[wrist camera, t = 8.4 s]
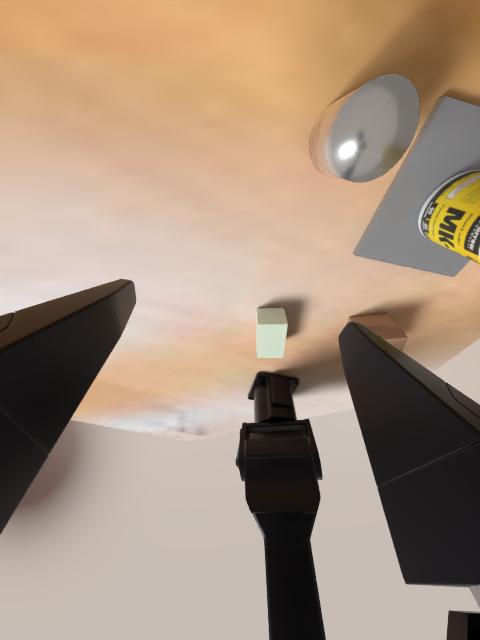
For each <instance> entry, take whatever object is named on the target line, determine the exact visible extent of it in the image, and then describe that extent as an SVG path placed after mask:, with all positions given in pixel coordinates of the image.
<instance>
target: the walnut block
mask: <svg viewBox="0 0 480 640" xmlns="http://www.w3.org/2000/svg"><path fill="white" fill-rule="evenodd" d="M351 321H352V322H358V323H361V324H362V325H364V326H365V327H366V328H368V329H369V330H371V331H372V332H374V333H375V334H377V335H378V336H380V337H381V338H382V339H384V340H385V341H387V342H388V343H390V344H391V345H393V346H394V347H396V348H397V349H398V350H400V351H402V349H403V347H404V345H405V343H406V341H407V338H408V337H407V336H406V335H405V334H404V332H403V331H402V330H401V329H400V328H399V327H398V325H397V324H396V323H395V322H394V321H393V320H392V319H391V317H390V316H389V315H388V314H387V313H384V314H373V315H363V316H353V317H349V319H348V322H351Z"/></svg>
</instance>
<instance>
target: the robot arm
mask: <svg viewBox="0 0 480 640" xmlns="http://www.w3.org/2000/svg"><path fill="white" fill-rule="evenodd" d="M135 304H136V294H135V286H134V283H133V281H131V280H126V279H119V280H116V281H113V282H109V283H106V284H103V285H100V286H96V287H93V288H90V289H87V290H83V291H80V292H77V293H74V294H70V295H67V296H64V297H61V298H57V299H54V300H51V301H47V302H44V303H41V304H38V305H34V306H31V307H28V308H25V309H21V310H18V311H15V313H13V312H11V313H8V314H5V315H2V316H0V534H1V533H2V531H3V529H4V528H5V526H6V524H7V523H8V521H9V520H10V518H11V516H12V515H13V513H14V511H15V510H16V508H17V506H18V505H19V503H20V501H21V500H22V498H23V496H24V495H25V493H26V491H27V490H28V488H29V486H30V485H31V483H32V482H33V480H34V479H35V477H36V475H37V473H38V472H39V470H40V469H41V467H42V465H43V464H44V462H45V460H46V459H47V457H48V454H49V453H50V452H51V450H52V449H53V447H54V445H55V443H56V442H57V440H58V439H59V437H60V435H61V434H62V432H63V430H64V429H65V427H66V425H67V424H68V422H69V421H70V419H71V417H72V416H73V414H74V412H75V411H76V409H77V408H78V406H79V404H80V403H81V401H82V399H83V398H84V396H85V394H86V393H87V391H88V390H89V388H90V386H91V385H92V383H93V381H94V380H95V378H96V376H97V375H98V373H99V371H100V370H101V368H102V367H103V365H104V363H105V362H106V360H107V358H108V357H109V355H110V353H111V352H112V350H113V348H114V347H115V345H116V344H117V342H118V340H119V339H120V337H121V335H122V333H123V331H124V329H125V327H126V324H127V322H128V320H129V318H130V315H131V313H132V311H133V309H134V306H135ZM339 346H340V352H341V358H342V363H343V369H344V373H345V377H346V380H347V384H348V387H349V391H350V394H351V398H352V401H353V405H354V408H355V411H356V415H357V418H358V422H359V425H360V429H361V432H362V436H363V439H364V443H365V446H366V449H367V453H368V457H369V460H370V464H371V467H372V471H373V474H374V477H375V481H376V484H377V486H378V492H379V496H380V499H381V502H382V506H383V509H384V513H385V516H386V520H387V523H388V527H389V530H390V534H391V537H392V541H393V544H394V548H395V551H396V555H397V558H398V562H399V565H400V569H401V572H402V575H403V578H404V580H405V583H406V584H414V585H433V586H452V587H469V588H470V590H471V592H472V594H473V596H474V598H475V600H476V602H477V604H478V606H479V608H480V405H479V404H478V403H476V402H475V401H473V400H472V399H470V398H469V397H467V396H466V395H464V394H463V393H461V392H460V391H458V390H457V389H455V388H454V387H452V386H451V385H450V384H448V383H446V382H444V380H442V379H441V378H439V377H438V376H436V375H435V374H433V373H432V372H431V371H429V370H428V369H426V368H425V367H423V366H422V365H420V364H419V363H417V362H416V361H415V360H413V359H412V358H410V357H409V356H407V355H406V354H404V353H403V352H401V351H400V350H398V349H397V348H396V347H394V346H393V345H391V344H390V343H388V342H387V341H385V340H384V339H382V338H381V337H380V336H378V335H377V334H375V333H374V332H372V331H371V330H369V329H368V328H366V327H365V326H364V325H362V324H361V323H358V322H352V321H351V322H348V323H347V325H346V326H345V328H344V329H343V331H342V332H341V333H340V335H339ZM298 385H299V379H295V378H289V377H282V376H276V375H269V374H262V373H258V374H256V377H255V379H254V381H253V384H252V386H251V389H250V391H249V394H248V399H250V400H254V413H255V423H243V424H242V429H240V443H239V448H238V453H237V457H236V466H237V467H238V468H239V470H240V475H241V479H242V481H245V493H246V494H245V495H246V501H247V504H248V506H249V509H250V511H251V513H252V514H253V516H254V518H255V520H256V522H257V524H258V526H259V528H260V531H261V533H262V535H263V537H264V545H265V562H266V583H267V602H268V621H269V640H326V638H325V632H324V625H323V619H322V613H321V607H320V600H319V593H318V587H317V581H316V574H315V568H314V562H313V556H312V550H311V542H310V537H311V533H312V530H313V526H314V522H315V518H316V514H317V510H318V507H319V502H320V492H319V486H318V481H317V480H322V469H321V463H320V458H319V453H318V449H317V446H316V442H315V439H314V436H313V432H312V428H311V425H310V421H309V419H305V420H297V417H296V412H295V407H294V401H293V396H292V394H293V392H294V391H295V389H296V388H297V386H298ZM447 640H480V612H473V611H449V615H448V627H447Z"/></svg>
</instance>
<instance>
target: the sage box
mask: <svg viewBox="0 0 480 640" xmlns="http://www.w3.org/2000/svg"><path fill="white" fill-rule="evenodd" d="M287 327H288V323H287V319H286V314H285V310H284V308H257V325H256V347H257V358H283V355H284V348H285V341H286V334H287Z"/></svg>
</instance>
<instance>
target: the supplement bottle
mask: <svg viewBox="0 0 480 640" xmlns="http://www.w3.org/2000/svg"><path fill="white" fill-rule="evenodd" d="M418 227H419V230H420V232H421V234H422V235H423V236H424V237H426V238H427V239H429V240H431V241H433V242H436V243H438V244H440V245H442V246H444V247H446V248H448V249H450V250H452V251H454V252H456V253H458V254H460V255H462V256H464V257H466V258H468V259H470V260H473V261H475V262H476V263H479V264H480V170H473V171H467V172H463V173H460V174H458V175H456V176H454V177H452V178H450V179H448V180H447V181H446V182H444V183H443V184H442V185H440V186H439V187H438V188H437V189H436V190H435V191H434V192H433V193H432V194H431V195H430V196H429V197H428V199H427V200H426V201H425V203H424V205H423V207H422V208H421V211H420V214H419V218H418Z"/></svg>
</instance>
